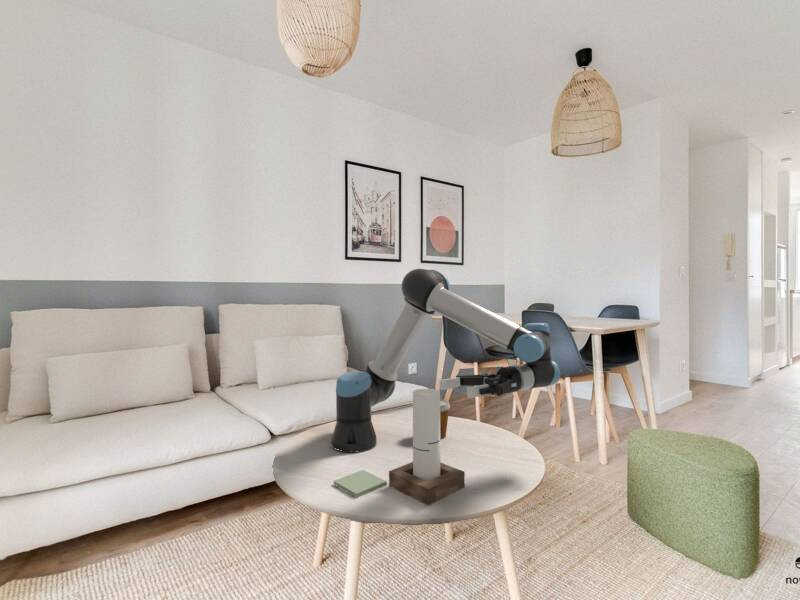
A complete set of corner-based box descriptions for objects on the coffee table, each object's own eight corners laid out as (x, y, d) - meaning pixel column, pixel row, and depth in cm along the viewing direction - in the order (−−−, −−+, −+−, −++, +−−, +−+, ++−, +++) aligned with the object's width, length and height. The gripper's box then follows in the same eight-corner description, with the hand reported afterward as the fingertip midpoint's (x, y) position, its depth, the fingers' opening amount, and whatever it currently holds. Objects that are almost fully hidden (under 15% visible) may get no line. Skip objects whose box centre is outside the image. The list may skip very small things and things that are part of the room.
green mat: (333, 484, 112) (333, 480, 112) (363, 473, 119) (363, 469, 119) (356, 497, 105) (356, 493, 105) (386, 484, 111) (386, 481, 111)
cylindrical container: (444, 490, 108) (444, 393, 108) (418, 494, 106) (417, 396, 106) (434, 479, 115) (434, 387, 114) (409, 482, 113) (409, 389, 112)
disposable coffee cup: (454, 434, 151) (454, 401, 151) (443, 442, 143) (443, 407, 142) (430, 430, 156) (430, 397, 155) (418, 437, 147) (418, 403, 147)
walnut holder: (389, 486, 111) (389, 471, 111) (425, 470, 120) (425, 456, 120) (428, 505, 101) (428, 489, 100) (464, 486, 110) (464, 471, 110)
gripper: (546, 399, 113) (481, 412, 103) (488, 385, 135) (431, 394, 126) (544, 371, 113) (480, 381, 103) (487, 361, 135) (429, 369, 126)
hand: (453, 388), depth 115 cm, fingers open, 13 cm apart
